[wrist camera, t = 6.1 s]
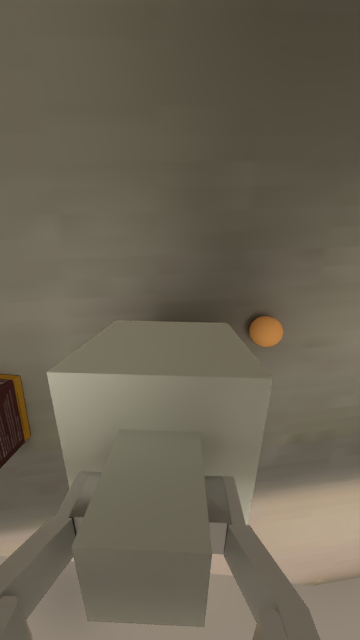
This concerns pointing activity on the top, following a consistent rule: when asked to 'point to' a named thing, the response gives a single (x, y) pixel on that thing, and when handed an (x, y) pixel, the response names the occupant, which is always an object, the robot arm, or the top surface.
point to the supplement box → (12, 417)
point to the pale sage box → (156, 459)
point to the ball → (266, 331)
